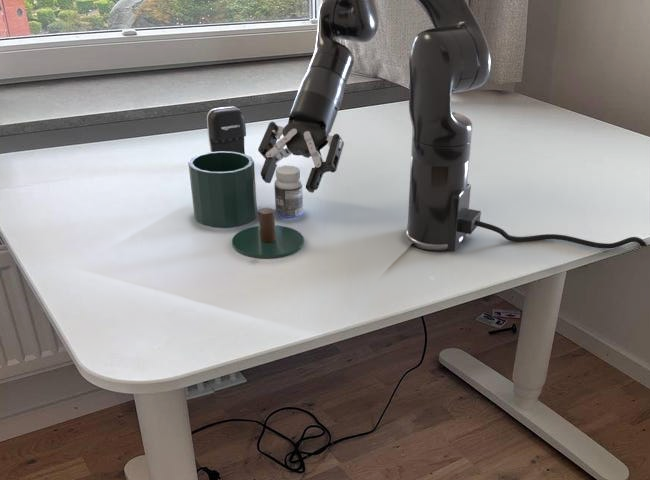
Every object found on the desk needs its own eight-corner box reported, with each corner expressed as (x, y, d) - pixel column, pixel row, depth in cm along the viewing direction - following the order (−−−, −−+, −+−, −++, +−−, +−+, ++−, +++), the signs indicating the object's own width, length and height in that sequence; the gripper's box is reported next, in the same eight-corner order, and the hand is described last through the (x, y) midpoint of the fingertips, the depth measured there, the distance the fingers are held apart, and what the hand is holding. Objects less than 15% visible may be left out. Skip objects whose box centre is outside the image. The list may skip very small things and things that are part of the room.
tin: (268, 213, 136) (265, 157, 130) (235, 235, 128) (230, 177, 122) (218, 202, 139) (212, 147, 134) (182, 223, 131) (175, 166, 126)
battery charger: (217, 173, 151) (211, 114, 144) (210, 166, 153) (204, 108, 147) (250, 167, 154) (246, 109, 148) (243, 161, 157) (239, 104, 150)
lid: (316, 239, 128) (315, 204, 124) (281, 267, 119) (279, 231, 116) (257, 226, 131) (254, 191, 128) (218, 252, 123) (214, 216, 119)
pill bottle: (272, 212, 136) (269, 166, 132) (298, 209, 138) (296, 163, 133) (280, 223, 133) (278, 175, 128) (306, 219, 135) (305, 172, 130)
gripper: (273, 83, 133) (241, 168, 131) (348, 95, 129) (316, 183, 126) (290, 106, 140) (260, 187, 138) (361, 119, 136) (331, 203, 134)
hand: (287, 185), depth 132 cm, fingers open, 8 cm apart
